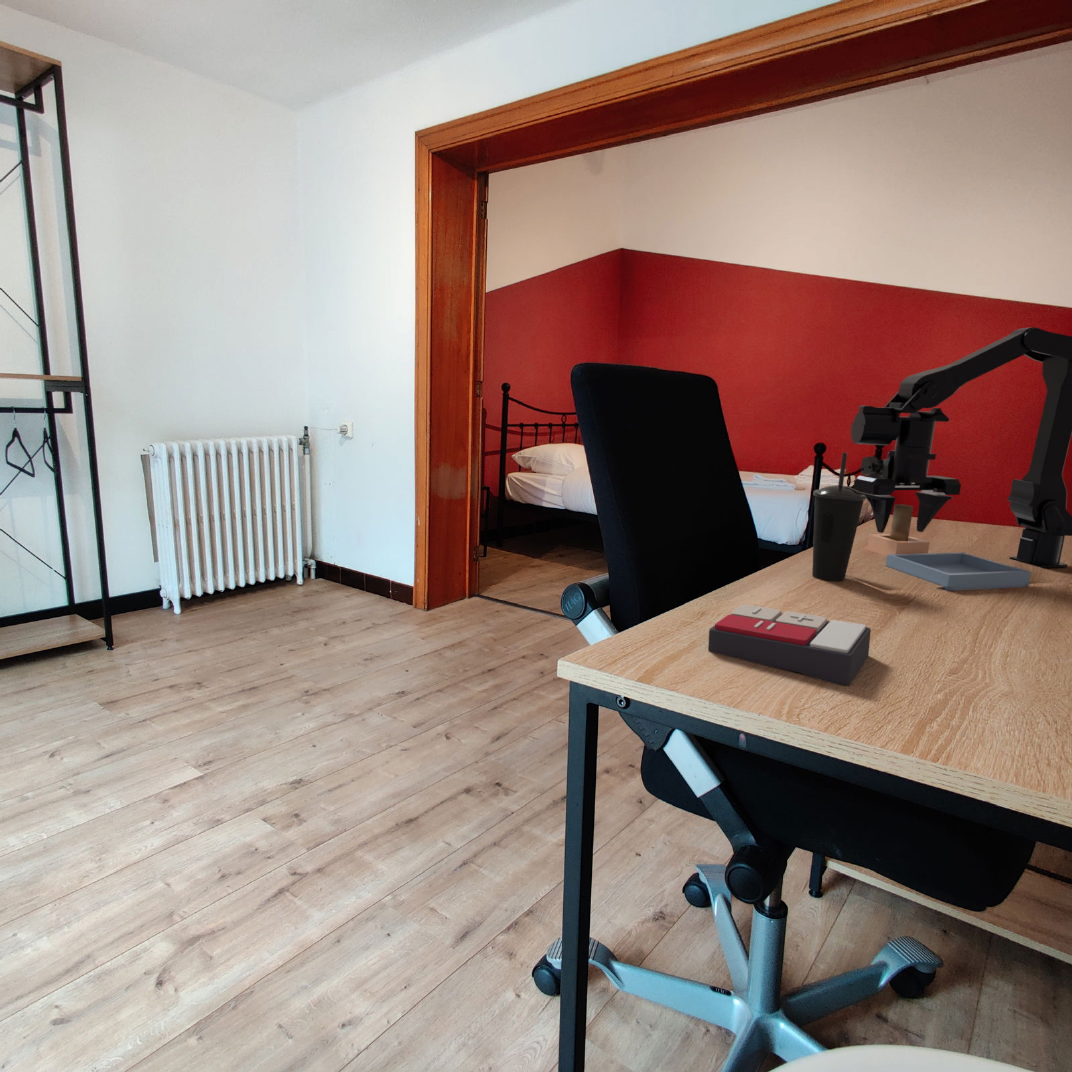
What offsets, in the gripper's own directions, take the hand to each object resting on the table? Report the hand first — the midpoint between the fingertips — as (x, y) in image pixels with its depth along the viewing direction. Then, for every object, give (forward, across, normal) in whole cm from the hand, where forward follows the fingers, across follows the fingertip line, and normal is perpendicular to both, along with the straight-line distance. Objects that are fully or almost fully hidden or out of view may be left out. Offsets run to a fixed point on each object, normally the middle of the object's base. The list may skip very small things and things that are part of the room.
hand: (900, 532), depth 128 cm
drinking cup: (+5, +23, +11) cm, 26 cm away
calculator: (+5, +50, +39) cm, 64 cm away
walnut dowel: (+4, 0, 0) cm, 4 cm away
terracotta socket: (+5, 0, 0) cm, 5 cm away
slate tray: (+5, +1, +14) cm, 15 cm away
